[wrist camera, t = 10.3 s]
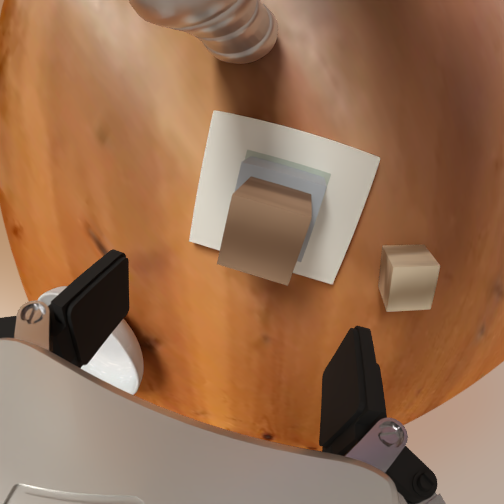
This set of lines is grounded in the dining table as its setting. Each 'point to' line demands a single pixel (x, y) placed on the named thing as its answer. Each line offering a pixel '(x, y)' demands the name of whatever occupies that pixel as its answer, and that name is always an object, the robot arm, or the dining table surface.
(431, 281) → the birch block
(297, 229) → the walnut block
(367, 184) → the board
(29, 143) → the dining table surface
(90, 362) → the serving bowl
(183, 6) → the plastic bottle
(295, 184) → the base block
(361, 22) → the dining table surface
